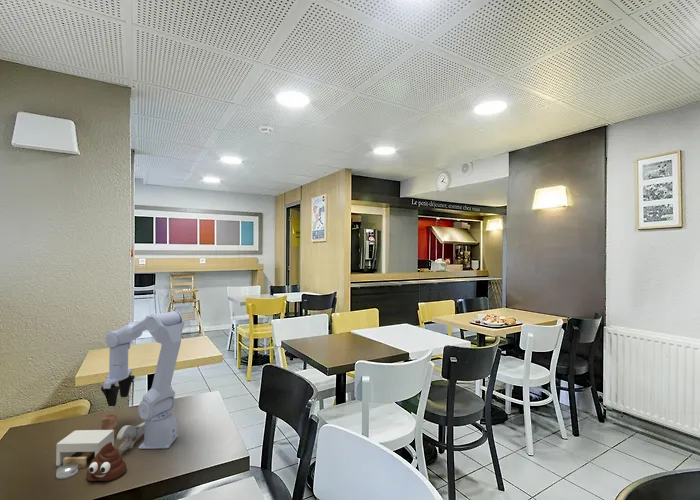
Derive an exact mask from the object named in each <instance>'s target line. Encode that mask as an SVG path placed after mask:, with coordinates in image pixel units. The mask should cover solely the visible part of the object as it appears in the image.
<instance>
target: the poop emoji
mask: <svg viewBox="0 0 700 500" xmlns="http://www.w3.org/2000/svg"><path fill="white" fill-rule="evenodd" d="M126 470H127V463H126V461H125V460H124V459H123V456H122V455H121V454H120V452H119V450H118V448H117V447H115V445H114V446H113V445H112V442H110V443H108V444H106V445H105V446H103V447H102V448H101V450H100V451H99V453H98V454H97V455H96V456H95V455H94V458H92V459H91V461H90V464H89V467H88V469H87V471H86V474H85V475H86V479H87V480H88V481H90V482H99V481H101V482H110V481H113V480H115V479H118V478H119V477H121V476H122V475H123V474H124V473H125V472H126Z"/></svg>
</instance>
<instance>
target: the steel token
mask: <svg viewBox="0 0 700 500" xmlns="http://www.w3.org/2000/svg"><path fill="white" fill-rule="evenodd" d="M55 470H56V472H55V473H56V474H55V475H56V479H57V480H65V479H69V478H72V477H74V476H75V475H76V474H78V472H79V468H78V463H76V462H72V463H67V464H64V465H63V464H61V465H60V466H58V467H57V468H56V469H55Z"/></svg>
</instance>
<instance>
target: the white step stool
mask: <svg viewBox="0 0 700 500" xmlns="http://www.w3.org/2000/svg"><path fill="white" fill-rule="evenodd" d="M110 442H112V445H113V446H114V447H115V437H114V430H102V429H91V430H90V429H86V430H85V429H84V430H83V429H82V430H81V429H79V430H77V429H76V430H73V431H72V432H71V433H70V434H68V435H66V437H63V439H61V440H59V441H58V442H57V443H56V447H55V448H56V450H55V451H56V454H55V456H56V457H55V460H56V462H55V466H56V467H60V466H62V465H63V459H64V458H65V457H73V455H75V454H76V453H84V452H94V457H95V456H96V455H97V454H98V453H99V451H100V450H101V448H102V447H103V446H105V445H106V444H108V443H110Z"/></svg>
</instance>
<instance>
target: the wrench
mask: <svg viewBox="0 0 700 500" xmlns="http://www.w3.org/2000/svg"><path fill="white" fill-rule="evenodd" d="M170 414H171V415H172V412H171V413H170ZM144 425H145V420H143V422H141V423H140V424H137V425H126V424H125V425H123V426H122V427H121V428H120V429H119V430H118V432H117V435H116V440H117V441H118V440H119V441H120V440H121V441H122V440H123V438H124V441H123V442H122V443H121V444H120V446H119V447H118V449H119V450H120V451H126V450H128V449H133V447H134V445H135V443H136V442H137V440H138V438H139V437H140V436H141V435H142V434H144Z"/></svg>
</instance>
